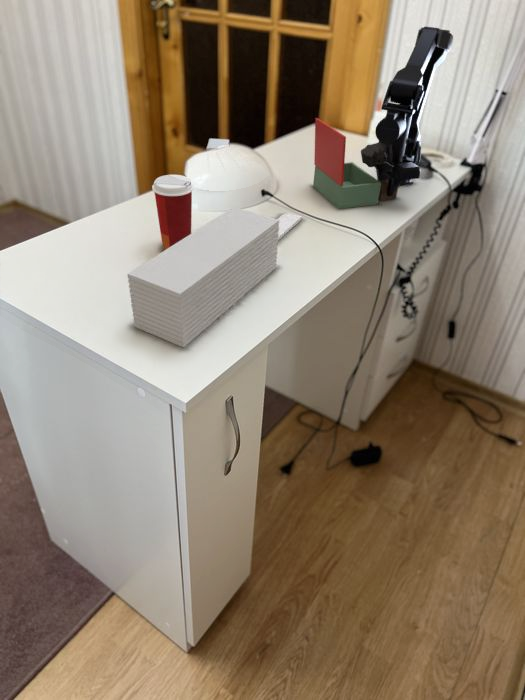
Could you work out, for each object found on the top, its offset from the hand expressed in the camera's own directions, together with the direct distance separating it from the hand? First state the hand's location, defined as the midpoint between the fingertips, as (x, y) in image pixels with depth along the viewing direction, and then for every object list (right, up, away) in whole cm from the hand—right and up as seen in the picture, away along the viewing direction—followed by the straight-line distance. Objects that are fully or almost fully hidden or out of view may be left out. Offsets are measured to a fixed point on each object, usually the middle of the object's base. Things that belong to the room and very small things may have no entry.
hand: (384, 193), depth 142 cm
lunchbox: (-11, 0, 0) cm, 11 cm away
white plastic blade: (-29, -14, -17) cm, 36 cm away
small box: (-45, +4, +4) cm, 45 cm away
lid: (-16, +8, -9) cm, 20 cm away
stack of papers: (-43, -32, -40) cm, 66 cm away
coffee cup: (-52, -20, -26) cm, 61 cm away
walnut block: (0, -1, +1) cm, 1 cm away
